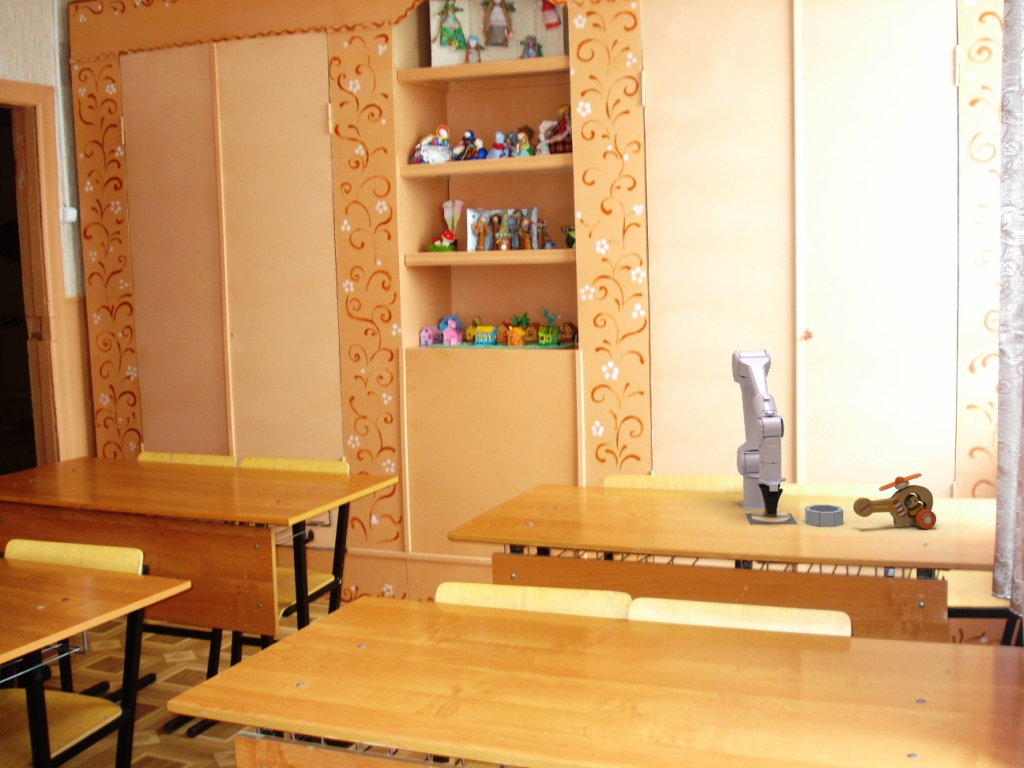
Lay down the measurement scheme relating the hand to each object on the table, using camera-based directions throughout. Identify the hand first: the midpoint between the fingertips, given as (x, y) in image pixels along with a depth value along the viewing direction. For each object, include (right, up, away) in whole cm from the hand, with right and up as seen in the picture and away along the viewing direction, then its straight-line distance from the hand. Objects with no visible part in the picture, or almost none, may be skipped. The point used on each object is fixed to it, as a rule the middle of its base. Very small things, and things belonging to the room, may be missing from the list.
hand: (770, 512), depth 262 cm
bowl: (+12, -2, -5) cm, 14 cm away
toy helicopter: (+29, -3, -12) cm, 31 cm away
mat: (0, -2, 0) cm, 2 cm away
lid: (0, -2, 0) cm, 2 cm away
